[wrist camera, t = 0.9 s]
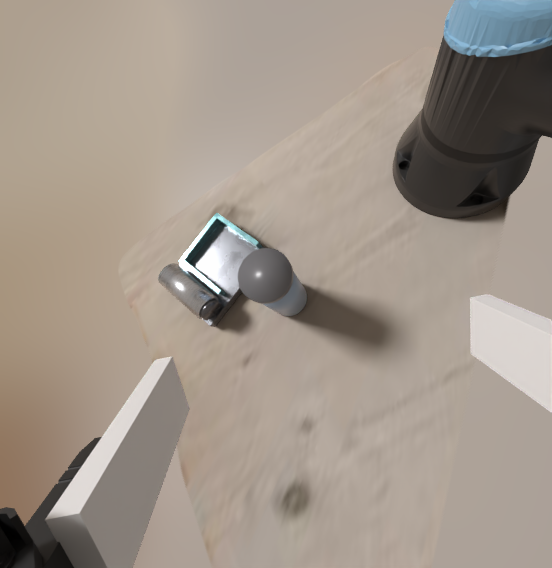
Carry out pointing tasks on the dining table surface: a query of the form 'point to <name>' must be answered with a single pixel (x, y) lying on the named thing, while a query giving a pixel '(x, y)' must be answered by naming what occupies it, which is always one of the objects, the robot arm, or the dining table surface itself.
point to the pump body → (272, 282)
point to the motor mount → (210, 270)
